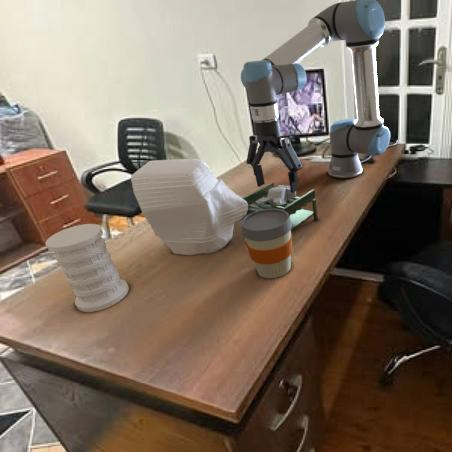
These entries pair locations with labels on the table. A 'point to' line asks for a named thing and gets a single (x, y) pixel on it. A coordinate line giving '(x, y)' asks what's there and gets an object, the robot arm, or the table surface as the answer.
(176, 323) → the table surface
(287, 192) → the bunny figurine
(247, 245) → the reusable coffee cup
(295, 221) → the rack
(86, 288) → the decorative container
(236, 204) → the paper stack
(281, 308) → the table surface
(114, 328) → the table surface
